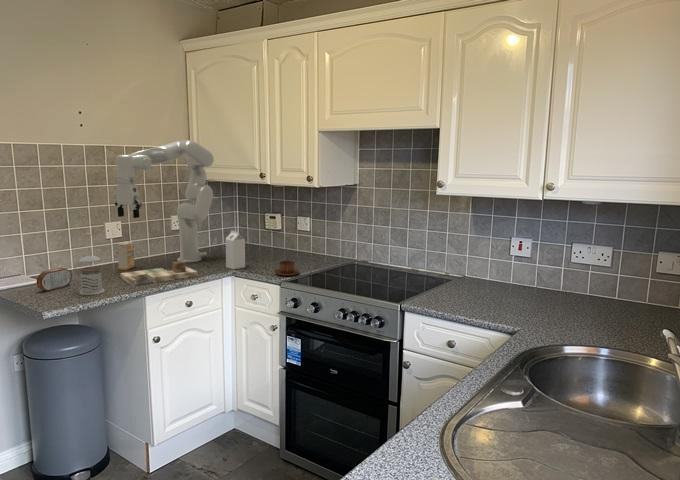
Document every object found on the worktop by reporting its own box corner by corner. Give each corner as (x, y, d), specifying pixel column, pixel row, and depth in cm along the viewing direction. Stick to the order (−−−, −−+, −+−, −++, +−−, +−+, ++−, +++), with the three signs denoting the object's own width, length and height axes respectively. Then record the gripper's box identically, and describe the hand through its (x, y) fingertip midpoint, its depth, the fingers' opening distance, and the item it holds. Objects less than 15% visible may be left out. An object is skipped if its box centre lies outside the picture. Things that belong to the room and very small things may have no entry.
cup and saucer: (303, 276, 244) (303, 263, 243) (280, 278, 238) (280, 265, 237) (292, 271, 254) (293, 259, 253) (270, 273, 248) (270, 261, 247)
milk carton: (237, 265, 264) (237, 229, 261) (245, 267, 259) (244, 231, 256) (225, 267, 259) (225, 231, 256) (233, 269, 254) (232, 232, 251)
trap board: (183, 270, 251) (182, 265, 251) (197, 276, 238) (197, 271, 238) (120, 278, 232) (120, 273, 232) (132, 286, 219) (132, 280, 219)
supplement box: (128, 270, 249) (126, 244, 247) (118, 270, 249) (117, 244, 247) (135, 266, 257) (133, 241, 255) (125, 266, 257) (124, 241, 255)
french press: (99, 294, 205) (95, 234, 201) (70, 295, 204) (65, 234, 200) (108, 288, 215) (105, 231, 210) (80, 288, 214) (76, 230, 209)
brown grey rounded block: (68, 284, 221) (67, 265, 220) (73, 285, 220) (72, 266, 218) (36, 292, 207) (35, 272, 206) (42, 293, 206) (40, 273, 205)
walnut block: (181, 270, 240) (181, 260, 239) (185, 271, 237) (185, 262, 236) (172, 271, 237) (172, 262, 236) (176, 273, 234) (176, 263, 233)
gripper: (146, 181, 237) (148, 217, 240) (119, 180, 244) (121, 215, 246) (134, 182, 230) (136, 219, 233) (106, 181, 237) (108, 216, 240)
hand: (128, 217), depth 240 cm, fingers open, 9 cm apart
